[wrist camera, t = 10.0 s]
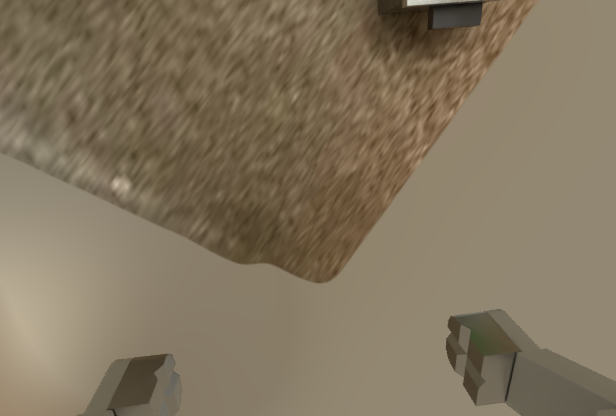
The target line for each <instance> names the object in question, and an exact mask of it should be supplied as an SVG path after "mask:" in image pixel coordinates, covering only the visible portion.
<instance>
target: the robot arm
mask: <svg viewBox="0 0 616 416" xmlns="http://www.w3.org/2000/svg"><path fill="white" fill-rule="evenodd" d="M448 328H449V329H450V331H451V334H450V335H449V336H448V337H447V338H446V350H447V356H448V359H449V361H450V364H451V365H452V367H453V369H454V371H455V372H456V373H458V374H460V375H461V376H463V377H464V382H463V386H464V387H465V389H466V391H467V392H468V394H469V395H470V397H471V399H472V400H473V402H474V404H475V405H476V406H480V405H488V404H495V403H505V402H506V404H507V405H508V406H509V407H511V408H512V409H513V410H515V411H516V412H517V413H519V414H520V415H521V416H616V381H613V380H611V379H609V378H607V377H605V376H603V375H601V374H599V373H597V372H594V371H592V370H590V369H588V368H586V367H584V366H582V365H580V364H578V363H576V362H573V361H571V360H569V359H567V358H565V357H563V356H561V355H559V354H556V353H554V352H552V351H550V350H548V349H540V348H539V347H538V346H537V345H536V344H535V342H534V341H532V339H531V338H530V337H529V336H528V335H527V334H526V333H525V332H524V331H523V330H522V329H521V328H520V327H519V326H518V325H517V324H516V323H515V322H514V321H513V320H512V319H511V318H510V317H509V316H508V314H507V313H506V312H505V311H503V310H501V309H496V310H489V311H483V312H477V313H469V314H462V315H456V316H451V317H450V318H449V320H448ZM174 367H175V360H174V358H173V355H172V354H161V355H152V356H143V357H134V358H128V359H118V360H115V361H114V362H113V363H112V364H111V365H110V367H109V369H108V370H107V372H106V374H105V376H104V378H103V379H102V381H101V383H100V385H99V387H98V389H97V391H96V392H95V394H94V396H93V398H92V400H91V402H90V403H89V405H88V407H87V409H86V411H85V412H84V414H79V415H77V416H174V415H175V414H176V413H177V412H178V411H179V407H180V403H181V395H182V386H181V380H180V377H179V374H177V373H176V372H174V371H173V370H174Z"/></svg>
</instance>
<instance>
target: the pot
mask: <svg viewBox="0 0 616 416" xmlns="http://www.w3.org/2000/svg"><path fill="white" fill-rule="evenodd" d="M402 1H403V0H378V15H381V14H394V13H407V12H419V11H429V12H428V30H434V29H446V28H459V27H471V26H478V25H480V22H481V13H482V3H486V2H474V3H461V4H448V5H435V6H422V7H409V8H402ZM487 2H489V1H487Z"/></svg>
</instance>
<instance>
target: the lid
mask: <svg viewBox="0 0 616 416" xmlns="http://www.w3.org/2000/svg"><path fill="white" fill-rule="evenodd" d="M487 1H500V0H403V1H402V8H409V7H422V6H435V5H448V4H461V3H474V2H487Z"/></svg>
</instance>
